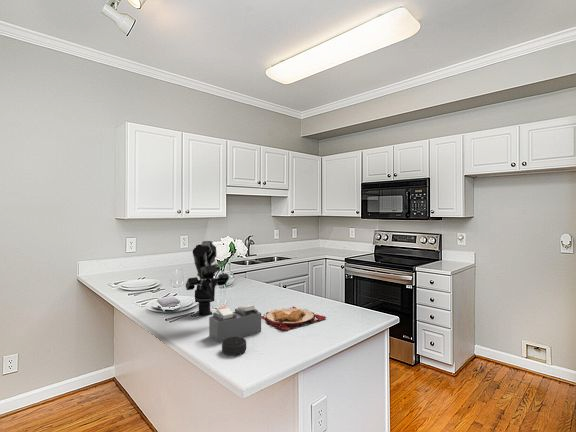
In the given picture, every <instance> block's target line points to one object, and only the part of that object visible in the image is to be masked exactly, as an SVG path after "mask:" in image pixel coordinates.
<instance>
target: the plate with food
mask: <svg viewBox="0 0 576 432" xmlns="http://www.w3.org/2000/svg"><path fill="white" fill-rule="evenodd" d="M315 317H316V318H315ZM326 318H327V316H326V315H325V316H324V315H320V314H318V313H317V314H316V313H315V312H313V311H309V310H308V309H305V308H304V309H303V308H297V307H296V306H292V307H288V308H281V309H279V308H278V309H273V310H270V311H267V312H266V313H264V314H263V315H261V320H265V321H266V322H265V324H266V325H269V326H273V328H275V329H280V330H281V331H285V330H288V331H289V330H290V329H296V328H297V327H302V326H306V325H307V323H305V322H307V321H310V323H308V324H309V325H310V324H314V323H317V322H319V321H323V320H325V319H326ZM303 323H304V324H303Z"/></svg>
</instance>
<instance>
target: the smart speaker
mask: <svg viewBox="0 0 576 432" xmlns="http://www.w3.org/2000/svg"><path fill="white" fill-rule="evenodd" d="M221 351H222V353H224V354H225V355H228V356H239V355H242V354H244V353H245V352H246V351H247V340H246V339H245V338H243V337H230V338H227V339H225V340H224V341H221Z"/></svg>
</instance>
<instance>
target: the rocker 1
mask: <svg viewBox="0 0 576 432" xmlns="http://www.w3.org/2000/svg"><path fill="white" fill-rule="evenodd" d="M215 311H216V312H215V313H217V314H219V315H220V316H222V317H223V319H226V318H231V317H233V313H232V312H233V311H232V310H231V309H230V308H229V307H228V306H227V305H226V306H220V307H217V308H216V310H215Z"/></svg>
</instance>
